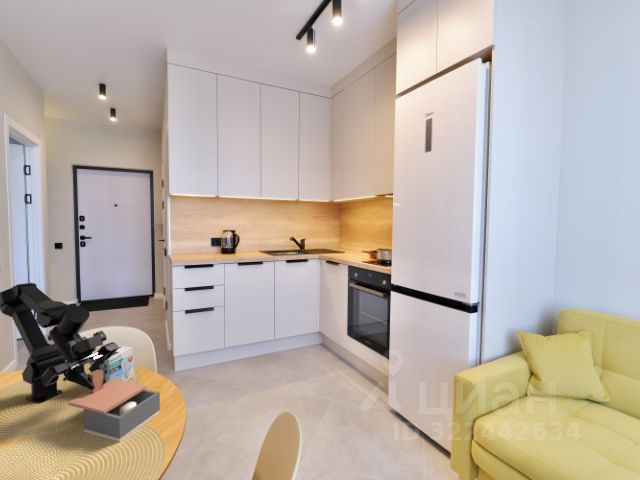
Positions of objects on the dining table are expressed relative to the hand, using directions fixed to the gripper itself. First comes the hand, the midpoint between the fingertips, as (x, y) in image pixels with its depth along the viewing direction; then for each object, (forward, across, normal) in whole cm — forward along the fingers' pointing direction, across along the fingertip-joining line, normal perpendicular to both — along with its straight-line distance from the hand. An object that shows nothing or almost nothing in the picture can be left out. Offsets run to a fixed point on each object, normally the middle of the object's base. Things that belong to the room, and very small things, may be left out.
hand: (99, 386), depth 91 cm
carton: (+12, 0, 0) cm, 12 cm away
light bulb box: (-2, +15, +15) cm, 21 cm away
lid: (+4, 0, -1) cm, 4 cm away
